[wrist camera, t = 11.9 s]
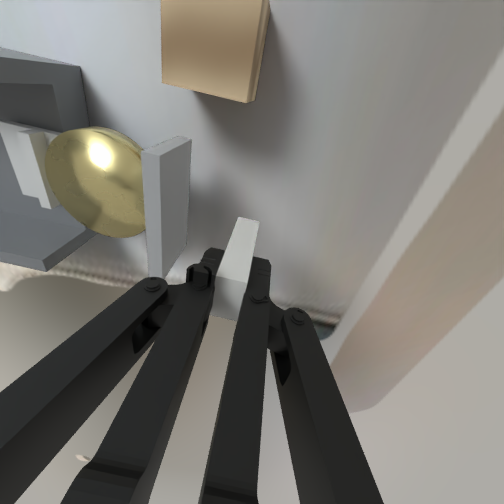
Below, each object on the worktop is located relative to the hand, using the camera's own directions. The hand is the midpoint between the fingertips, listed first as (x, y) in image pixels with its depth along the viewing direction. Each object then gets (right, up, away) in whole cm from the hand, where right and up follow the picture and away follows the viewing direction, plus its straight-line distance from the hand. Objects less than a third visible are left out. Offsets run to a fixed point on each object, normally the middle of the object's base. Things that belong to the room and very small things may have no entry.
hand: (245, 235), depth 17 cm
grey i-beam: (-12, +5, +2) cm, 13 cm away
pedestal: (-1, +13, 0) cm, 13 cm away
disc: (-10, +4, +2) cm, 11 cm away
